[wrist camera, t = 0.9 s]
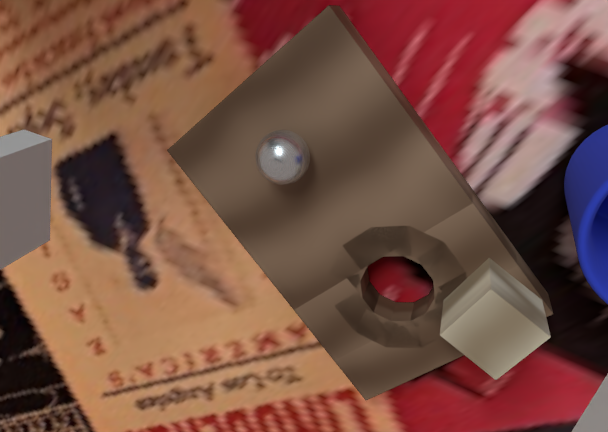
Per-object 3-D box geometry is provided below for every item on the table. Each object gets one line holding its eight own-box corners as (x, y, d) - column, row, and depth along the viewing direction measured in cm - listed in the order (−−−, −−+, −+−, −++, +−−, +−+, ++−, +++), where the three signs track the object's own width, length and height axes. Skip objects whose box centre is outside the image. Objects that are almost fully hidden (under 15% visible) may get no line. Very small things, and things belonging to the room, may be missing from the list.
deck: (185, 142, 38) (167, 150, 35) (339, 5, 32) (328, 5, 29) (371, 378, 40) (365, 400, 38) (548, 294, 34) (553, 313, 32)
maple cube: (443, 300, 34) (439, 335, 30) (489, 257, 32) (490, 289, 28) (493, 340, 34) (495, 380, 30) (542, 300, 32) (550, 337, 28)
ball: (256, 144, 34) (236, 157, 31) (294, 114, 32) (276, 124, 29) (287, 185, 34) (270, 201, 31) (326, 157, 32) (312, 171, 30)
